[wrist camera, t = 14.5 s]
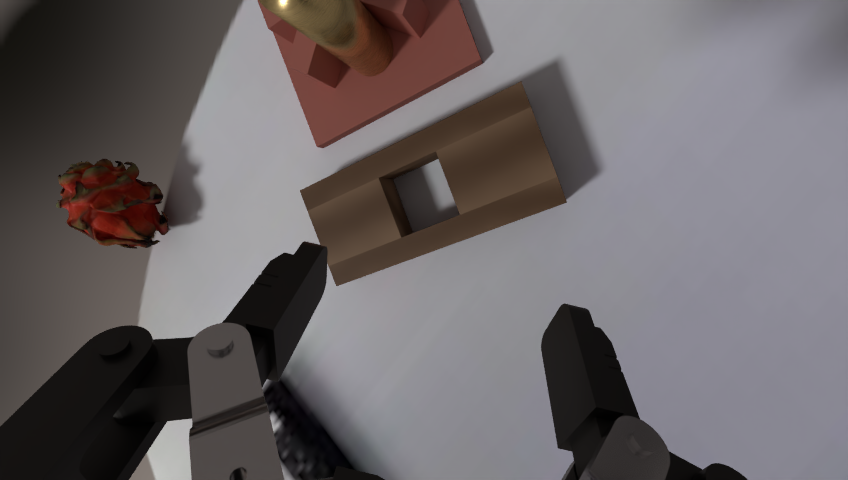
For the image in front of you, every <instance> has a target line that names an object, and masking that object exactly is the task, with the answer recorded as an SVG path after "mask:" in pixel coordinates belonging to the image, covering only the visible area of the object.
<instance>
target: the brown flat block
mask: <svg viewBox="0 0 848 480" xmlns="http://www.w3.org/2000/svg"><path fill="white" fill-rule="evenodd" d="M436 159H439V161H440V164H441V166H442V169H443V172H444V174H445V177H446V179H447V182H448V185H449V187H450V190H451V193H452V195H453V198H454V200H455V203H456V206H457V208H458V211H459V214H460V215H458V216H456V217H453V218H451V219H448V220H446V221H443V222H440V223H438V224H435V225H433V226H430V227H428V228H425V229H422V230H420V231H417V232H415V233H413V231H412V229H411V226H410V223H409V221H408V218H407V216H406V213H405V210H404V208H403V205H402V202H401V200H400V197H399V195H398V192H397V189H396V187H395V184H394V181H393V179H395V178H397V177H399V176H401V175H404V174H406V173H408V172H410V171H412V170H414V169H417V168H419V167H421V166H423V165H425V164H428V163H430V162H432V161H434V160H436ZM300 192H301V195H302V198H303V200H304V203H305V205H306V208H307V211H308V213H309V216H310V219H311V221H312V224H313V226H314V229H315V232H316V234H317V237H318V239H319V242H320V245H322V246H326V247H327V249H328V255H327V263H328V266H329V268H330V271H331V273H332V276H333V279H334V281H335V284H336V286H339V285H341V284H344V283H347V282H350V281H352V280H355V279H358V278H361V277H363V276H366V275H369V274H372V273H374V272H377V271H380V270H383V269H385V268H388V267H391V266H393V265H396V264H399V263H402V262H404V261H407V260H410V259H413V258H415V257H418V256H421V255H424V254H426V253H429V252H432V251H435V250H437V249H440V248H443V247H446V246H448V245H451V244H454V243H457V242H459V241H462V240H465V239H468V238H470V237H473V236H476V235H479V234H481V233H484V232H487V231H490V230H492V229H495V228H498V227H501V226H503V225H506V224H509V223H512V222H514V221H517V220H520V219H523V218H525V217H528V216H531V215H534V214H536V213H539V212H542V211H545V210H547V209H550V208H553V207H556V206H558V205H561V204H564V203H566V202H567V201H566V198H565V196H564V193H563V190H562V188H561V185H560V182H559V180H558V177H557V174H556V172H555V169H554V167H553V164H552V161H551V159H550V156H549V153H548V151H547V148H546V145H545V143H544V140H543V138H542V135H541V132H540V130H539V127H538V124H537V122H536V119H535V116H534V114H533V111H532V108H531V106H530V103H529V101H528V98H527V95H526V93H525V90H524V87H523V85H522V82H519V83H517V84H515V85H513V86H511V87H509V88H507V89H505V90H503V91H501V92H499V93H497V94H495V95H493V96H491V97H488V98H486V99H484V100H482V101H480V102H478V103H476V104H474V105H472V106H470V107H468V108H466V109H464V110H462V111H460V112H458V113H456V114H454V115H452V116H450V117H448V118H446V119H444V120H442V121H440V122H438V123H436V124H434V125H432V126H430V127H428V128H426V129H424V130H422V131H420V132H418V133H416V134H414V135H412V136H410V137H408V138H406V139H403V140H401V141H399V142H397V143H395V144H393V145H391V146H389V147H387V148H385V149H383V150H381V151H379V152H377V153H375V154H373V155H371V156H369V157H367V158H365V159H363V160H361V161H359V162H357V163H355V164H353V165H351V166H349V167H347V168H345V169H343V170H341V171H339V172H337V173H335V174H333V175H331V176H329V177H327V178H325V179H323V180H321V181H318V182H316V183H314V184H312V185H310V186H308V187H306V188H304V189H302V190H300Z"/></svg>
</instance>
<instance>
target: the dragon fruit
mask: <svg viewBox="0 0 848 480" xmlns="http://www.w3.org/2000/svg"><path fill="white" fill-rule="evenodd" d="M115 162H116V163H118V166H117V167H113V165H112V162H111V161H109V160H107V159H102V160H100V161H98V162H97V163H96V164H95V165H92V164H90V163H89V162H85V163H84V162H82V161H81V162H79V163H77V164H71V165H70V166H71V168H69V170H68V171H66V173H64V174H63V175H62V176H61V175H59V176H58V181H59V183H60V185H61V186H63V187H64V188H63V189H62V191H61V193H60V195H61V196H63V197H62V200H58V203H57V204H56V206H57V207H58V208H61V207H64V208H66V209H67V210H68V212H69V218H68V220H67V224H68V225H69V226H70V227H72V228H74V229H76V230H78V231H80V232H82V233H84V234H86V235H88V236H89V237H91V238H92V239H94V240H96V241H97V242H98V243H99V244H101V245H104V246H110V245H114V244H117V245H121V246H123V247H127V248H137V247H134V246H141V247H145V248H147V247H150V246H151V245H155V244H157V243H158V242H160V241H159V240H156V241H152V238H154V233H155V231H156V230H157V231H159V232H160V233H161V235H165V234H166V233H167V232H168V229H167V227H168V226H167V225H168V223H167V222H168V218H167V217H166V215H165V214H164V213H163V212H162V211H161V212H162V214H163V215H164V217H163V216H162V215H160V213H159V212H158V210H157V208H156V206H155V204H159V203H161V200H162V198H163V194H162V193H161V190H160V189H159V188H158V186H157V185H156V184H153V183H152V182H147V183H146V182H143V181H140V180H138V179H136V178H137V176H138V175H139V170H138V168H137V166H136V165H135V164H134V163H132V162H126V163H124V164H127V165H131V166H130V167H128V169H127V170H126V169H125V166H124V165H123V163H122V162H119V161H115ZM162 221H163V224H162ZM128 245H129V246H128Z"/></svg>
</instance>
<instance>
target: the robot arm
mask: <svg viewBox="0 0 848 480" xmlns="http://www.w3.org/2000/svg"><path fill="white" fill-rule="evenodd" d="M327 255H328V249H327V247H326V246H322V245H318V244H314V243H309V242H303V243H302V244H301V245H300V247H299V248H298V250H297V251H296V252H295V254H294V255H292V254H288V253H283V254H281V255H280V256H278V257H276V258H275V259H273V260H271V261H270V262H269V264H268V265H267V266H266V267H265V269H264V270H263V271H262V273H261V275H259V276H258V278H257V279H256V280H255V282H254V284H252V285H251V287H250V288H249V289H248V291H247V292H246V293H245V295H244V296H243V297H242V298H241V300H240V301H239V302H238V304H237V305H236V306H235V307H234V309H233V310H232V311H231V313H230V314H229V315H228V316H227V318H226V319H225V320H224V321H223V322H222V323H220V324H216V325H212V326H210V327H207V328H206V329H204V330H202V331H201V332H199V333H198V334H197V335H196V336H195V337H190V338H175V339H155V340H153V339H152V336H151V334H150V333H149V331H147V330H146V329H144V328H142V327H139V326H120V327H116V328H112V329H109V330H106V331H104V332H102V333H100V334H98V335H96V336H95V337H93V338H92V339H90V340H89V341H88V342H87V343H86V344H85V345H84V346H83V347H81V348H80V349H79V350H78V351H77V352H76V353H75V354H74V355H73V356H72V357H71V358H70V359H69V360H68V361H67V362H66V363H65V364H64V365H63V366H62V367H61V368H60V369H59V370H58V371H57V372H56V373H55V374H54V375H53V376H52V377H51V378H50V379H49V380H48V381H47V382H46V383H45V384H44V385H42V386H41V388H39V389H38V390H37V392H35V393H34V394H33V395H32V396H31V397H30V398H29V399H28V400H27V401H26V402H25V403H24V404H23V405H22V406H21V407H20V408H19V409H18V410H17V411H16V412H15V413H14V414H13V415H12V416H11V417H10V418H9V419H8V420H7V421H6V422H5V423H4V424H3V425H2V426H0V480H129V479H130V477H131V475H132V474H133V473H134V471H135V470H136V468H137V466H138V465H139V463H140V462H141V460H142V459H143V457H144V456H145V454H146V453H147V451H148V450H149V448H150V447H151V445H152V444H153V442H154V441H155V439H156V438H157V436H158V435H159V433H160V431H161V430H162V428H163V427H164V425H165V424H166V422H167V421H173V420H182V419H191V418H192V421H193V425H192V428H191V429H190V433H189V444H190V460H191V475H192V480H284V477H283V472H282V468H281V464H280V459H279V455H278V451H277V446H276V442H275V437H274V433H273V429H272V424H271V420H270V415H269V411H268V407H267V403H266V401H265V399H264V395H263V390H262V387H263V385H264V383H265V381H266V380H267V379H269V380H273V381H277V382H278V381H279V379H280V377H281V375H282V373H283V371H284V369H285V367H286V365H287V364H288V362H289V360H290V358H291V356H292V354H293V352H294V350H295V348H296V346H297V344H298V342H299V340H300V338H301V336H302V335H303V333H304V331H305V329H306V327H307V325H308V323H309V321H310V319H311V317H312V315H313V313H314V311H315V309H316V307H317V305H318V304H319V302H320V300H321V298H322V295H323V293H324V290H325V286H326V278H327ZM541 350H542V357H543V362H544V368H545V374H546V380H547V386H548V392H549V398H550V404H551V410H552V416H553V422H554V427H555V433H556V439H557V445H558V448H559V449H564V450H568V451H572V452H573V457H574V461H573V462H572V463H571V465H570V466H569V468H568V469H567V471H566V473H565V474H564V476H563V478H562V480H747V479H746V478H745V477H744V476H743V475H742V474H740V473H739V472H737V471H736V470H734V469H733V468H731V467H729V466H726V465H723V464H719V463H714V464H711V465H709V466H708V467H706V468H704V469H703V470H702V469H700V468H699V467H697V466H695V465H693V464H691V463H689V462H687V461H686V460H684V459H682V458H680V457H678V456H676V455H675V454H673V453H671V452H669V451H668V449H667V446H666V445H665V443H664V441H663V440H662V438H661V437H660V436H659V434H658V433H657V432H656V431H655V430H654V429H653V428H652V427H651V426H649V425H648V424H647V423H645V422H644V421H642V420H640V418H639V415H638V412H637V410H636V407H635V404H634V402H633V399H632V396H631V394H630V391H629V388H628V386H627V383H626V380H625V377H624V375H623V372H621V367H620V364H619V361H618V360H617V359H616V358H617V356H616V353H615V351H614V348H613V345H612V342H611V341H610V340H609V339H608V337H607V336H606V335H605V333H604V332H603V331H602V329H601V328H598V327H595V326H594V323H593V320H592V317H591V314H590V312H589V310H588V309H585V308H581V307H577V306H573V305H568V304H562V305H561V306H560V308H559V309H558V311H557V313H556V314H555V316H554V317H553V319H552V321H551V322H550V324H549V326H548V327H547V329H546V330H545V332H544V335H543V338H542V343H541ZM319 480H384V479H383V478H381V477H379V476H377V475H373V474H369V473H365V472H360V471H356V470H352V469H347V468H343V467H339V466H337V467H336V470H335V473H334V477H333V478H324V479H319Z"/></svg>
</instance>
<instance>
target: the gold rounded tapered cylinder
mask: <svg viewBox="0 0 848 480" xmlns="http://www.w3.org/2000/svg"><path fill="white" fill-rule="evenodd" d="M259 2H260V3H261V4H262V5H263V6H264V7H265V8H266V9H268V10H269V11H271V12H272V13H274V14H275V15H276V16H278V17H279V18H281V19H282V20H284V21H285V22H286V23H288V24H289V25H291V26H292V27H294V28H295V29H297V30H298V31H299V32H301V33H302V34H304V35H305V36H307V37H308V38H309V39H311V40H312V41H314V42H315V43H317V44H318V45H320V46H321V47H322V48H324V49H325V50H327V51H328V52H330V53H331V54H332V55H334V56H335V57H337V58H338V59H340V60H341V61H343V62H344V63H345V64H347V65H348V66H350V67H351V68H353V69H354V70H355V71H357V72H358V73H360V74H362V75H364V76H369V77H370V76H376V75H378V74H380V73H382V72H383V71H384V70H385V69H386V68H387V67H388V65H389V64H390V62H391V60H392V56H393V49H394V47H393V41H392V38H391V36H390V35H389V33H388V32H387V31H386V30H385V29H384V28H383V26H382V25H381V24H380V23H379V22H378V21H377V20H376V19H375V18H374V17H373V15H372V14H371V13H370V12H369V11H368V10H367V9H366V8H365V7H364V6H363V4H362V3H361V2H360V1H359V0H259Z"/></svg>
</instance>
